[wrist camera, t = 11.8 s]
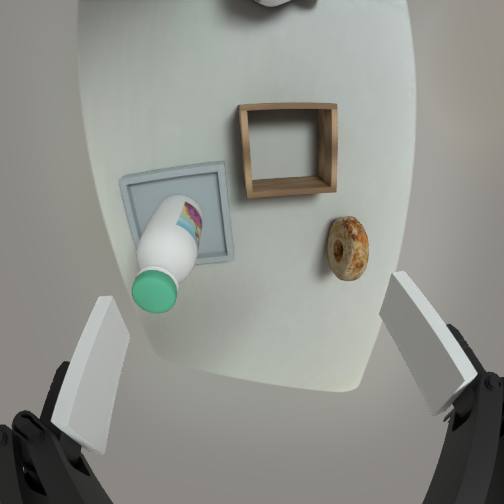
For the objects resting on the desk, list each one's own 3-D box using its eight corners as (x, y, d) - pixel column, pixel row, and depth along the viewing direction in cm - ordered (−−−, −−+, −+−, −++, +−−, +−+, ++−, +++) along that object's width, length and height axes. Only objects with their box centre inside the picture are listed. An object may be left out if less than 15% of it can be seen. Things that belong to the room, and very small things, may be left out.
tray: (124, 175, 40) (119, 179, 38) (224, 160, 40) (224, 163, 38) (145, 262, 48) (142, 269, 46) (234, 252, 48) (234, 260, 46)
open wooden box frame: (238, 104, 36) (240, 105, 31) (322, 102, 37) (337, 103, 32) (244, 185, 43) (247, 198, 37) (323, 180, 43) (336, 192, 38)
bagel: (330, 207, 46) (354, 234, 37) (350, 208, 46) (376, 234, 37) (321, 260, 51) (339, 293, 42) (339, 260, 51) (359, 292, 43)
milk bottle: (156, 236, 45) (122, 321, 27) (156, 192, 41) (111, 261, 24) (202, 239, 46) (191, 328, 28) (205, 195, 42) (191, 267, 25)
